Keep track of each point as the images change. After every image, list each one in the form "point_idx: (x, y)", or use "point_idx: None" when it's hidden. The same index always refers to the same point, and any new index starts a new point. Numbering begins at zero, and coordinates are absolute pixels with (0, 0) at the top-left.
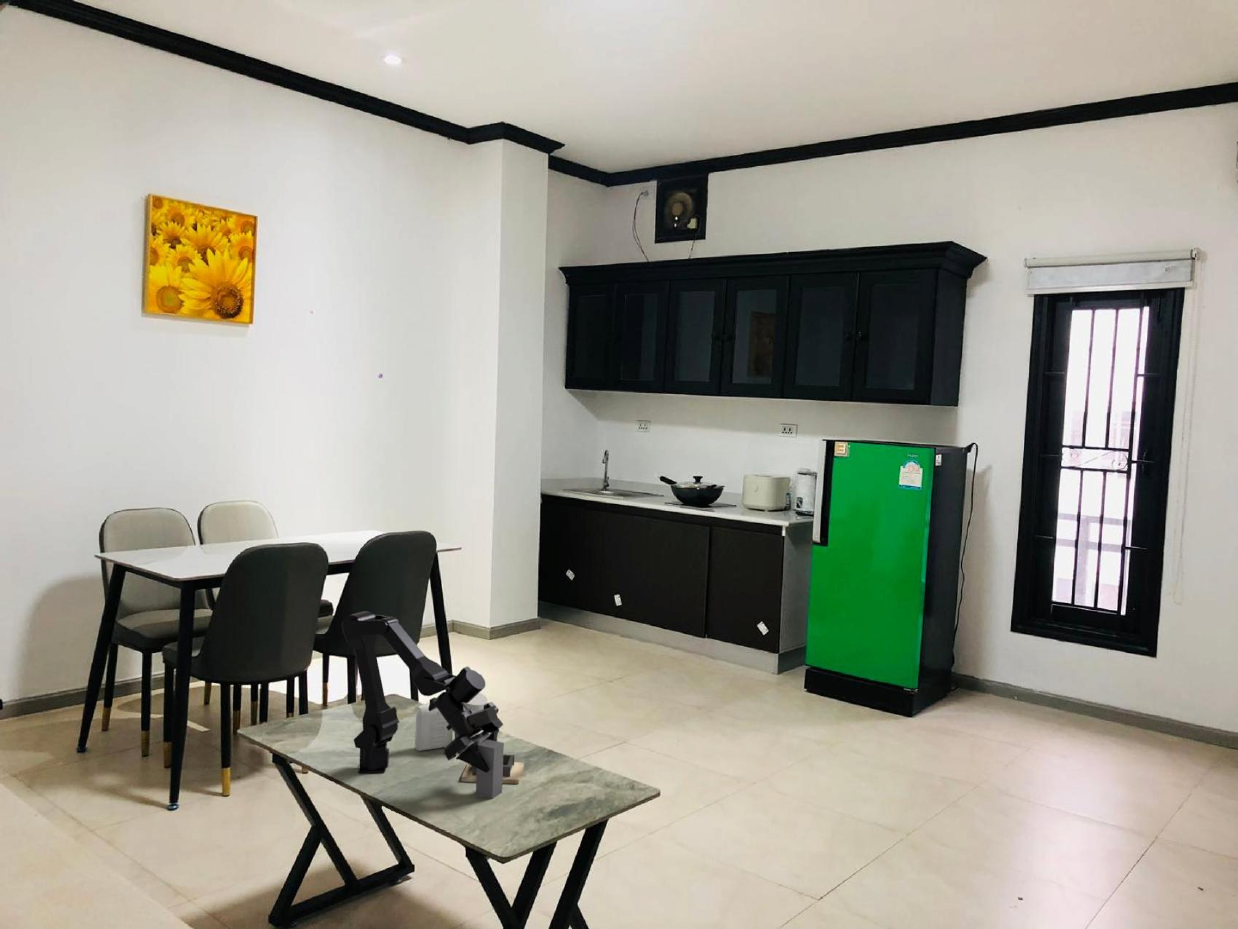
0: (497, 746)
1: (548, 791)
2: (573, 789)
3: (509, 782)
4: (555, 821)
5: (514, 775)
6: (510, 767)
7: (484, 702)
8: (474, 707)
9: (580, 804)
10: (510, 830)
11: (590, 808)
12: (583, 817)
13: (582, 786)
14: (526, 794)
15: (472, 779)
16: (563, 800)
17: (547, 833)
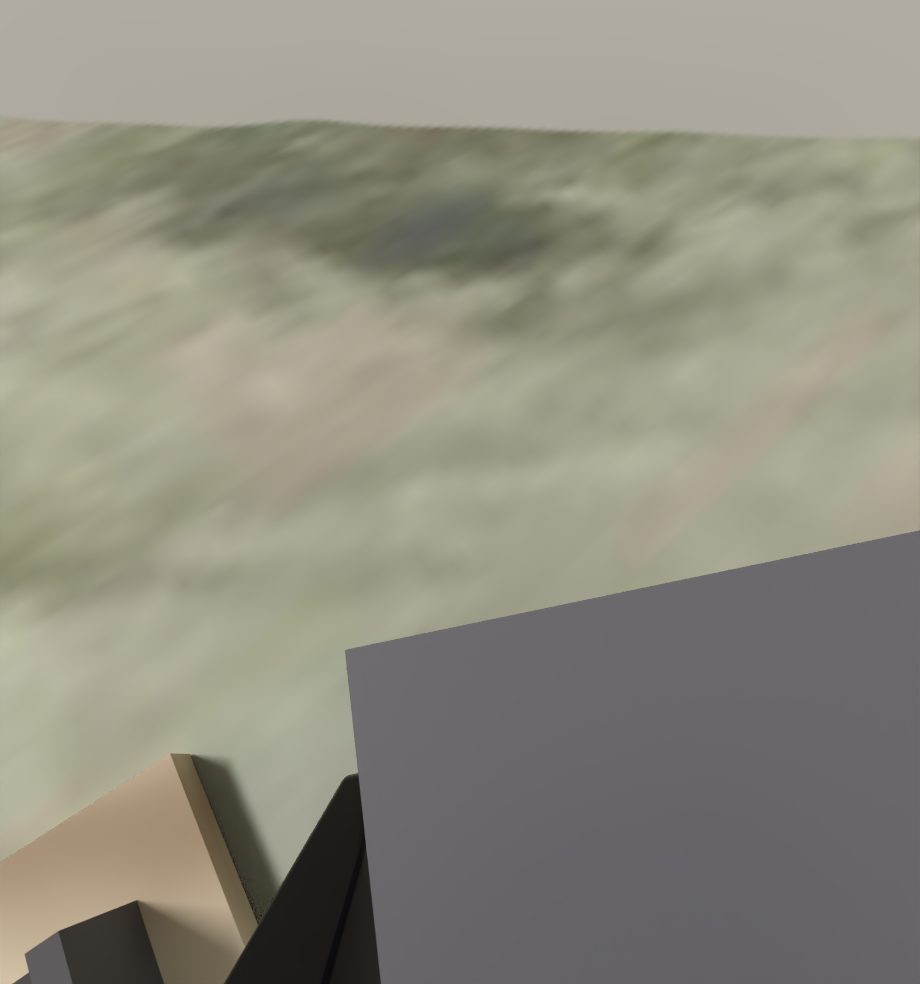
0: (790, 559)
1: (216, 458)
2: (99, 364)
3: (218, 842)
4: (584, 188)
5: (75, 884)
6: (38, 948)
7: None
8: None
9: (301, 222)
10: (875, 264)
11: (320, 169)
12: (443, 137)
13: (22, 354)
14: (359, 540)
15: None
16: (304, 308)
17: (726, 141)
